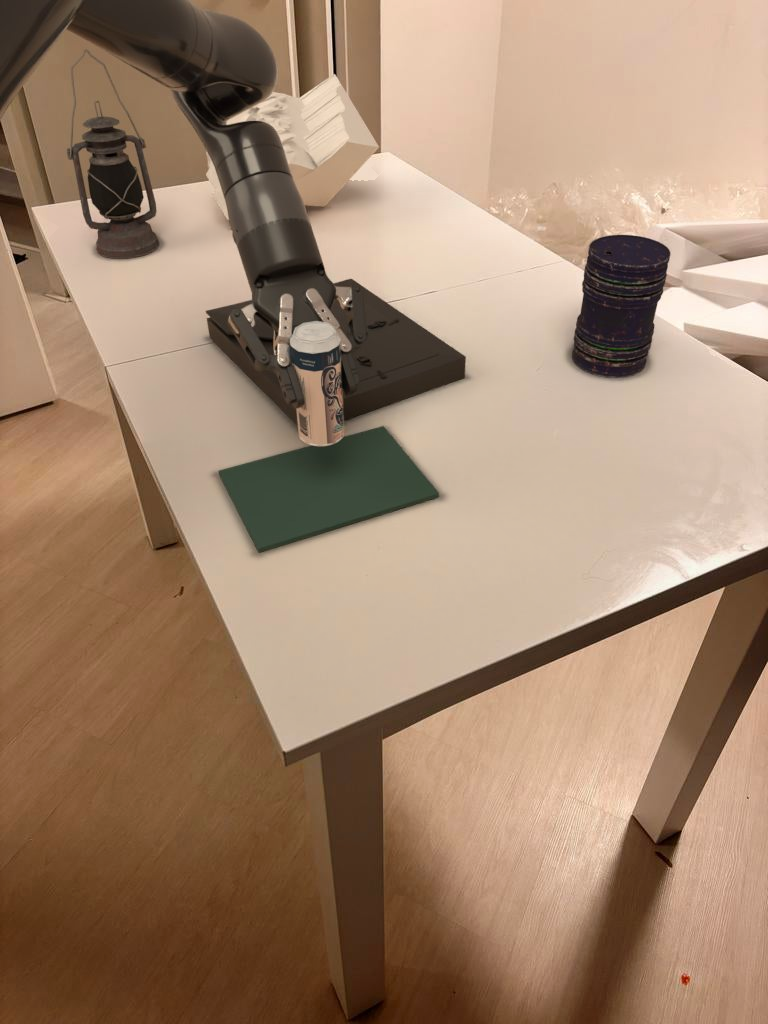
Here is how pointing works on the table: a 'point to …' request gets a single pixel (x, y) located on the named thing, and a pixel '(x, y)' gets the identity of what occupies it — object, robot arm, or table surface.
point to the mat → (324, 487)
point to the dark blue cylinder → (619, 304)
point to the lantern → (114, 185)
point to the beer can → (319, 383)
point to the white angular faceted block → (312, 140)
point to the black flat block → (359, 356)
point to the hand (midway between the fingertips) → (326, 398)
